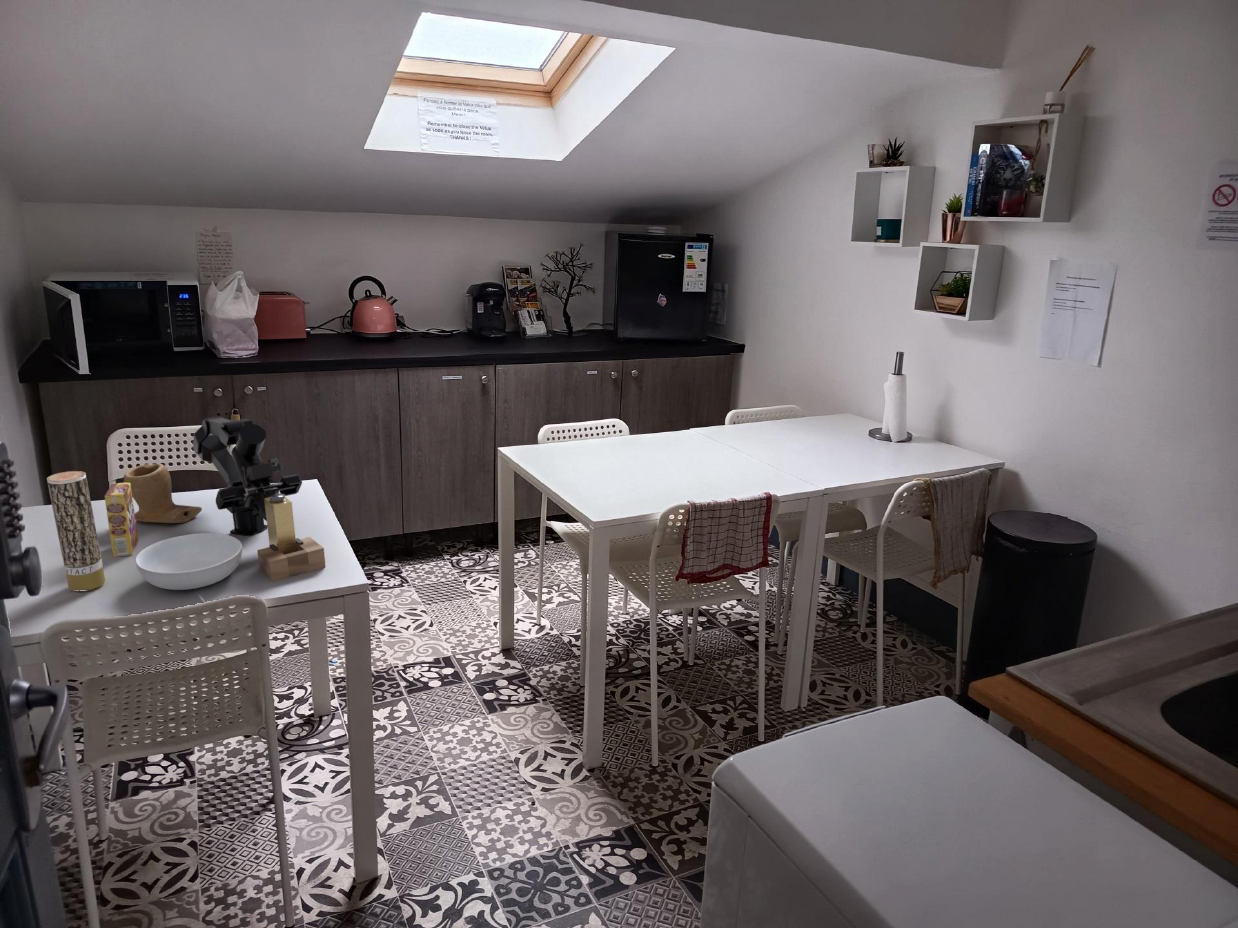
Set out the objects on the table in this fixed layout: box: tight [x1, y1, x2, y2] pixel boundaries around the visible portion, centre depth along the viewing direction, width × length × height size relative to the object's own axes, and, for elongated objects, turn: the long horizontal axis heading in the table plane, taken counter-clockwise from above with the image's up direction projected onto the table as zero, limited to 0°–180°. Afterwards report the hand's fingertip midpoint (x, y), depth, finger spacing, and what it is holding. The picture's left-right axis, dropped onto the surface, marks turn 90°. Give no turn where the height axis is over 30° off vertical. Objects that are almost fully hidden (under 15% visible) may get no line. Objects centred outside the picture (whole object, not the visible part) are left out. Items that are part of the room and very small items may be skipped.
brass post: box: [264, 493, 297, 555], centre depth 192 cm, size 6×4×16 cm, turn 41°
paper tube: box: [46, 470, 106, 591], centre depth 177 cm, size 7×7×25 cm
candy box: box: [104, 482, 139, 557], centre depth 197 cm, size 9×4×15 cm, turn 20°
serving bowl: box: [135, 532, 243, 591], centre depth 184 cm, size 21×21×7 cm
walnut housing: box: [257, 536, 327, 582], centre depth 190 cm, size 8×12×6 cm, turn 131°
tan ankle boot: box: [123, 462, 203, 524], centre depth 214 cm, size 15×12×15 cm
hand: (271, 522), depth 196 cm, fingers closed
